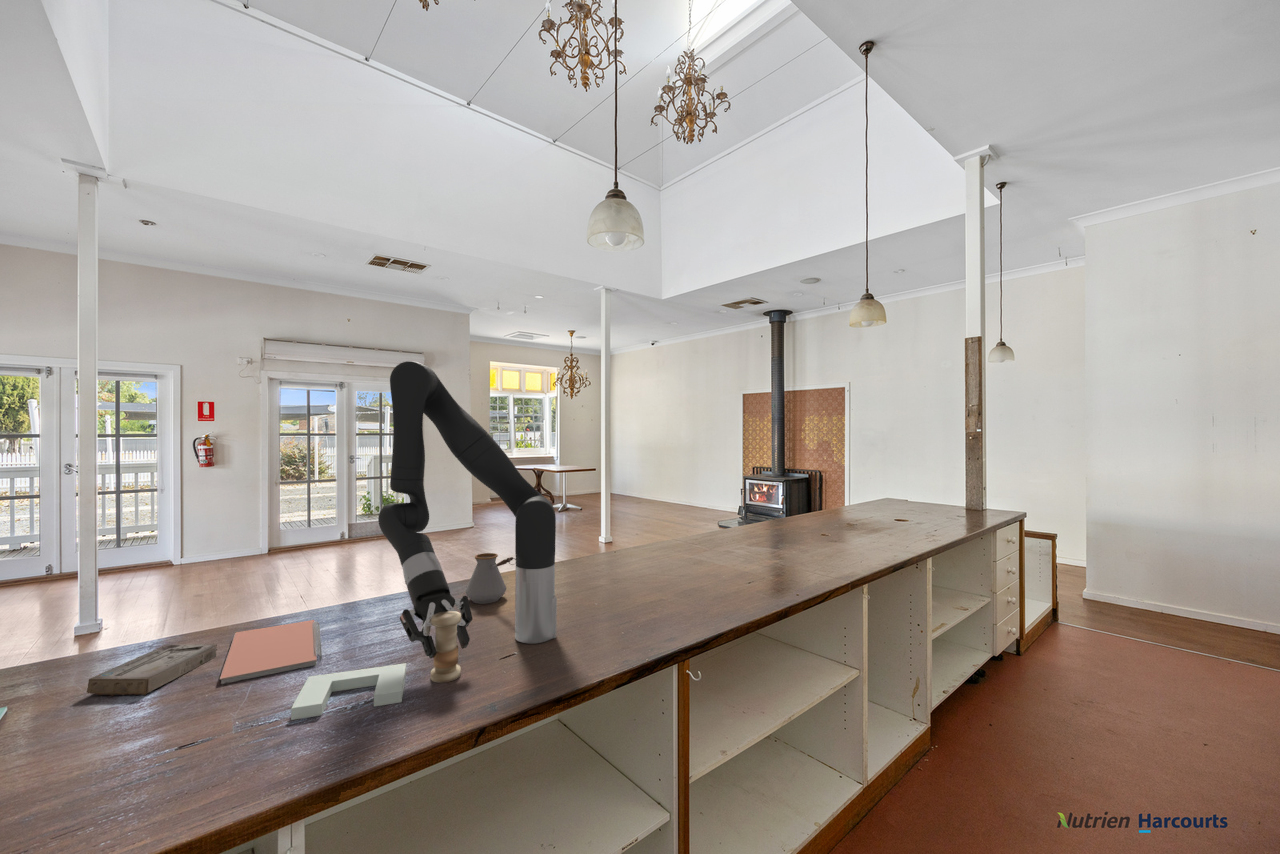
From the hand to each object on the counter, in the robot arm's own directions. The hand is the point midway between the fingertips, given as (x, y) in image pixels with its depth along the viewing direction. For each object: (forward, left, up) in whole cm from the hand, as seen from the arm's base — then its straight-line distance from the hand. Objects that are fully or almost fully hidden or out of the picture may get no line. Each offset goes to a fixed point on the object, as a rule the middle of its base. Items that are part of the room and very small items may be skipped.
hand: (449, 650), depth 102 cm
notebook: (+36, -27, -6) cm, 46 cm away
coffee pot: (-12, -44, -6) cm, 46 cm away
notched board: (+17, 0, -5) cm, 18 cm away
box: (+55, -22, -6) cm, 59 cm away
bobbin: (+1, -2, -5) cm, 6 cm away
